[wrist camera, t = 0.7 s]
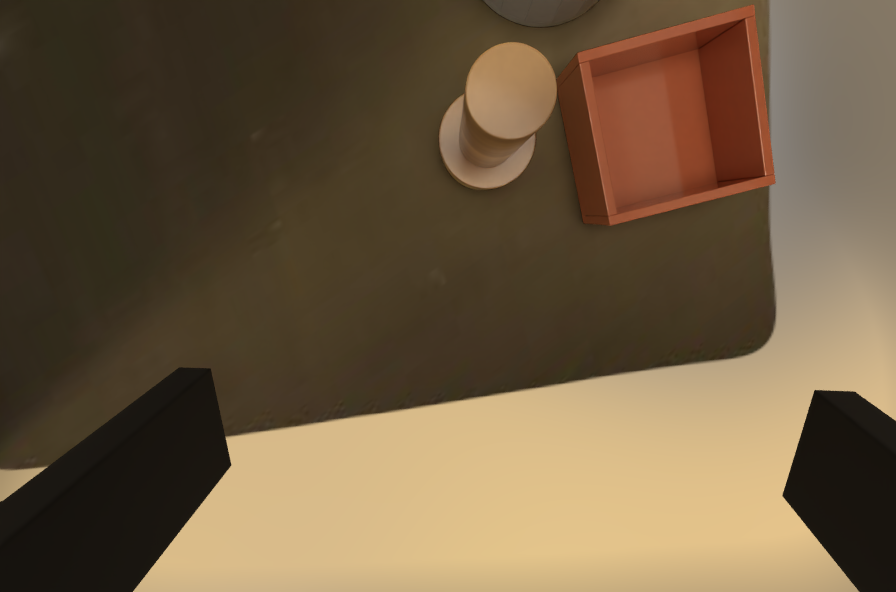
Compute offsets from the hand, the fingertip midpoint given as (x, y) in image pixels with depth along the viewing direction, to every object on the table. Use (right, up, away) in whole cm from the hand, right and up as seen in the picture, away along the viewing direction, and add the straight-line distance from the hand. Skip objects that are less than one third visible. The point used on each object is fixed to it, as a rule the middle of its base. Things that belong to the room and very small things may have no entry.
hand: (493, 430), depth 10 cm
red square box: (+13, +14, +22) cm, 29 cm away
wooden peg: (+2, +14, +22) cm, 26 cm away
